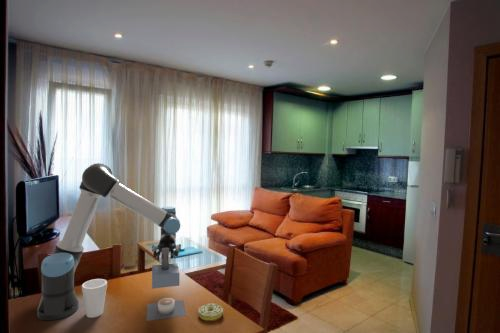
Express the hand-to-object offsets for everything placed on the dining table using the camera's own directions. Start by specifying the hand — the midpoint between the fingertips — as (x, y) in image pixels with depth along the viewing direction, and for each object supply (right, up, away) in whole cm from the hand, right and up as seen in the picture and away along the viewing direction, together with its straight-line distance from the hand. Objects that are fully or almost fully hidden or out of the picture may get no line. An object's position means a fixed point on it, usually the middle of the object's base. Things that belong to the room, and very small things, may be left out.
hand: (164, 260), depth 128 cm
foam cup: (-30, -24, +3) cm, 39 cm away
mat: (-1, -24, +7) cm, 25 cm away
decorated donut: (+19, -25, +4) cm, 31 cm away
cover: (-1, -11, +6) cm, 13 cm away
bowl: (-1, -24, +7) cm, 25 cm away
